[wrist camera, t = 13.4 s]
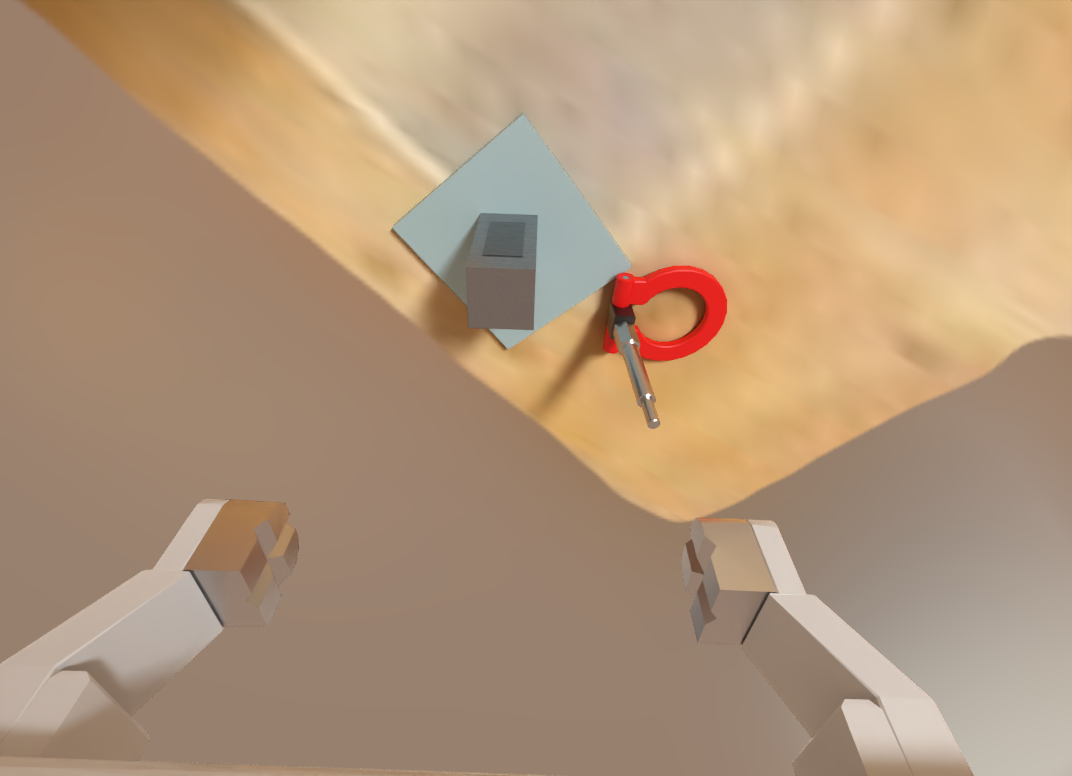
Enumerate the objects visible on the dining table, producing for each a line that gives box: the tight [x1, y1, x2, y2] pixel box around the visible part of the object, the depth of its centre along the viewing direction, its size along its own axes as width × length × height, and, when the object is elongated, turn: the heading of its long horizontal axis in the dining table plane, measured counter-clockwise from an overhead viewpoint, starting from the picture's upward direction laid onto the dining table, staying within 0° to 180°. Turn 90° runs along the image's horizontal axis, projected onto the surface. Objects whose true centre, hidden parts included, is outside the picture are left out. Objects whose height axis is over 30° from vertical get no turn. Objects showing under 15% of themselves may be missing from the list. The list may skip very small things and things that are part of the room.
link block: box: [465, 213, 538, 330], centre depth 35 cm, size 4×4×9 cm
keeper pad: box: [392, 113, 632, 349], centre depth 40 cm, size 13×12×1 cm
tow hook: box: [603, 266, 727, 429], centre depth 38 cm, size 8×13×9 cm
